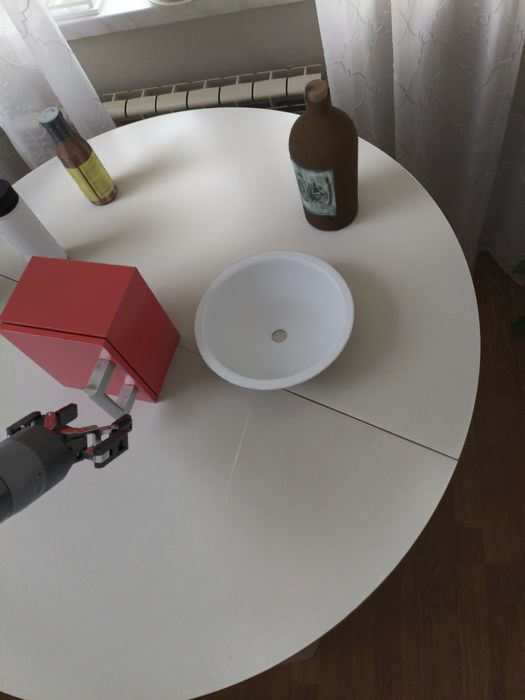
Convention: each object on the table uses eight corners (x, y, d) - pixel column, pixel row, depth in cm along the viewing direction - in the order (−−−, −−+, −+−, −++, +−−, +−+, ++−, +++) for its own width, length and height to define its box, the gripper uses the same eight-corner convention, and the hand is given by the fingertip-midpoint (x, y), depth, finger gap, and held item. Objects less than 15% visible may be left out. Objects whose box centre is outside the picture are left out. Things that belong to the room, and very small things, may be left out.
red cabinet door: (143, 436, 84) (85, 384, 68) (49, 416, 89) (-26, 364, 72) (157, 397, 86) (105, 339, 70) (65, 380, 91) (-3, 322, 75)
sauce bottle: (117, 180, 112) (69, 95, 95) (118, 202, 109) (68, 118, 92) (87, 189, 113) (33, 106, 96) (87, 211, 110) (32, 129, 93)
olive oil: (319, 182, 101) (301, 55, 80) (372, 197, 97) (368, 68, 76) (290, 224, 98) (263, 103, 76) (344, 242, 94) (332, 120, 72)
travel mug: (42, 286, 102) (-27, 211, 85) (35, 261, 106) (-32, 185, 89) (73, 271, 103) (10, 194, 86) (65, 247, 106) (3, 169, 89)
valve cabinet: (158, 396, 87) (105, 336, 70) (66, 379, 91) (-3, 320, 75) (181, 336, 91) (136, 266, 75) (92, 323, 96) (32, 255, 80)
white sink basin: (252, 257, 96) (244, 232, 90) (382, 302, 87) (381, 277, 81) (178, 370, 88) (163, 351, 82) (311, 433, 79) (306, 416, 73)
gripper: (68, 454, 58) (147, 398, 72) (-40, 429, 62) (56, 381, 76) (73, 516, 60) (148, 449, 75) (-31, 488, 64) (59, 430, 79)
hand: (101, 415), depth 76 cm, fingers open, 8 cm apart
